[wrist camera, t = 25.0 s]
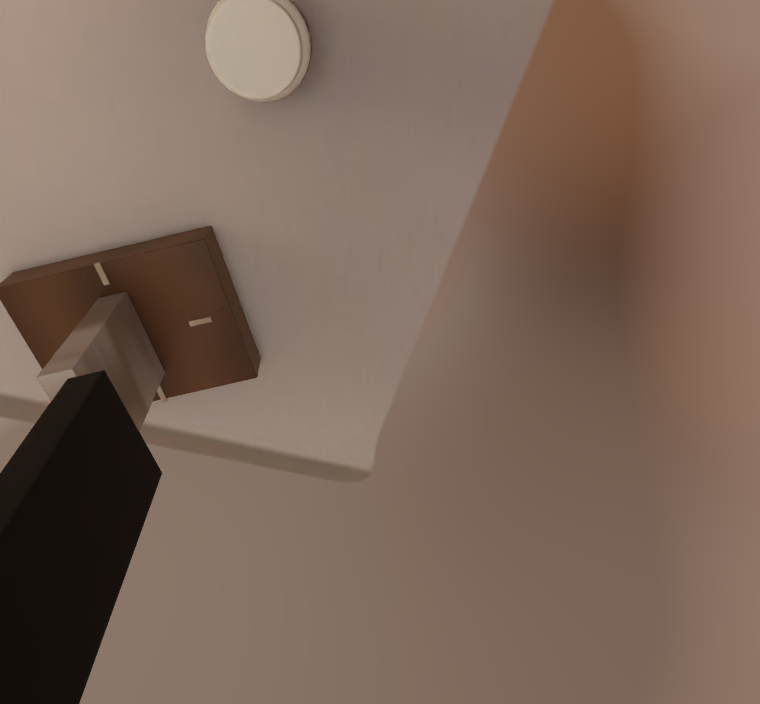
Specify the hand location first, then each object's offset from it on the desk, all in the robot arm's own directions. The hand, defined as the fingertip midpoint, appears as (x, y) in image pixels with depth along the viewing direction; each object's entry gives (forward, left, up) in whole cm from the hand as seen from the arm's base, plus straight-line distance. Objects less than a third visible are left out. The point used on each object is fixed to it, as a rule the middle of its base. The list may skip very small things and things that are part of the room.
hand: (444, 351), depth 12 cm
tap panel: (+17, +9, -26) cm, 32 cm away
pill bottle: (+4, -5, -27) cm, 27 cm away
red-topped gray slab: (+17, +8, -24) cm, 30 cm away
